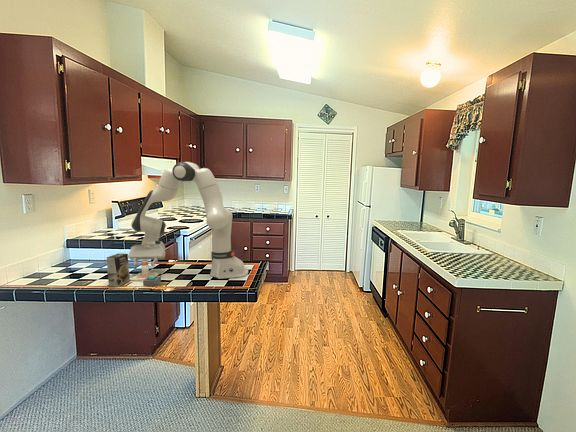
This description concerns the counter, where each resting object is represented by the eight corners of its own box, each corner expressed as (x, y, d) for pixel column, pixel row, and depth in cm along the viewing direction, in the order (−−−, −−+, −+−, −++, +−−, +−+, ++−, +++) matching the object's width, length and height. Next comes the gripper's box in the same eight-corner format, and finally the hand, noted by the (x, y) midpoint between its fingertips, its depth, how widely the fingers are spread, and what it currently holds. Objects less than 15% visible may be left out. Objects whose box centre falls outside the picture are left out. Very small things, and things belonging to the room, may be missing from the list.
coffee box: (118, 287, 167) (116, 257, 164) (108, 286, 168) (105, 257, 166) (130, 281, 176) (128, 253, 173) (120, 280, 177) (118, 252, 175)
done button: (156, 278, 173) (156, 275, 173) (154, 280, 170) (154, 277, 169) (150, 278, 173) (149, 275, 173) (147, 280, 169) (147, 277, 169)
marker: (149, 274, 184) (148, 259, 183) (147, 276, 180) (146, 261, 179) (143, 274, 184) (142, 259, 182) (141, 276, 180) (139, 261, 179)
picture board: (159, 273, 188) (159, 272, 188) (152, 280, 176) (152, 278, 176) (139, 274, 188) (139, 272, 188) (130, 281, 176) (130, 279, 176)
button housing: (161, 281, 175) (160, 276, 175) (156, 285, 168) (156, 280, 168) (148, 281, 175) (148, 276, 175) (143, 286, 168) (142, 280, 168)
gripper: (130, 242, 186) (123, 263, 177) (165, 241, 187) (160, 262, 178) (133, 248, 191) (127, 268, 182) (167, 247, 192) (163, 267, 183)
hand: (144, 265), depth 180 cm, fingers open, 8 cm apart
